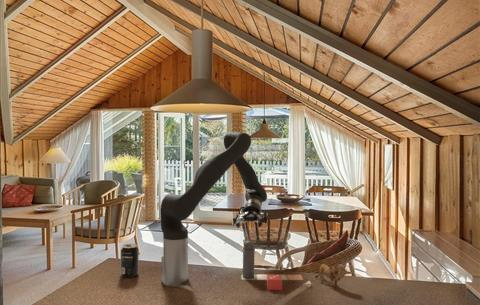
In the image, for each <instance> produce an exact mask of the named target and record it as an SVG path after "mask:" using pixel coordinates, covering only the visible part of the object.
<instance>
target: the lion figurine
mask: <svg viewBox="0 0 480 305" xmlns="http://www.w3.org/2000/svg"><path fill="white" fill-rule="evenodd" d="M347 273H348V270H347V269H346V268H345V267H344V264H335V265H334V266H330V267H329V266H328V265H327V264H325V263H323V264H321V265H320V266H319V272H318V274H317V275H315V276H314V278H315V279H317V278H319V283H320V284H323V283H324V282H323V280H325V278H324V276H325V277H326V278H328V279H329V282H330V284H329V285H330V289H331V290H334V289H335V288H339V285H338V284H337V283H338V282H339V281H341V279H344V277H345V276H346V275H347Z"/></svg>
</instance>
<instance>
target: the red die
mask: <svg viewBox="0 0 480 305" xmlns="http://www.w3.org/2000/svg"><path fill="white" fill-rule="evenodd" d="M266 275H267V280H266V288H267V291H283V280H282V277H281V275H282V274H266Z"/></svg>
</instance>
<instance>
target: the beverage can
mask: <svg viewBox="0 0 480 305" xmlns="http://www.w3.org/2000/svg"><path fill="white" fill-rule="evenodd" d="M138 274H139V248H138V245H137V244H136V243H126V244H123V245H122V248H120V276H121V277H123V278H134V277H135V276H137V275H138Z"/></svg>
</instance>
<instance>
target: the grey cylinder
mask: <svg viewBox="0 0 480 305" xmlns="http://www.w3.org/2000/svg"><path fill="white" fill-rule="evenodd" d="M242 274H243V278H245V279H253V278H254V275H255V244H254V242H253V241H251V240H246V241H245V242H244V243H243V248H242Z"/></svg>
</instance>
